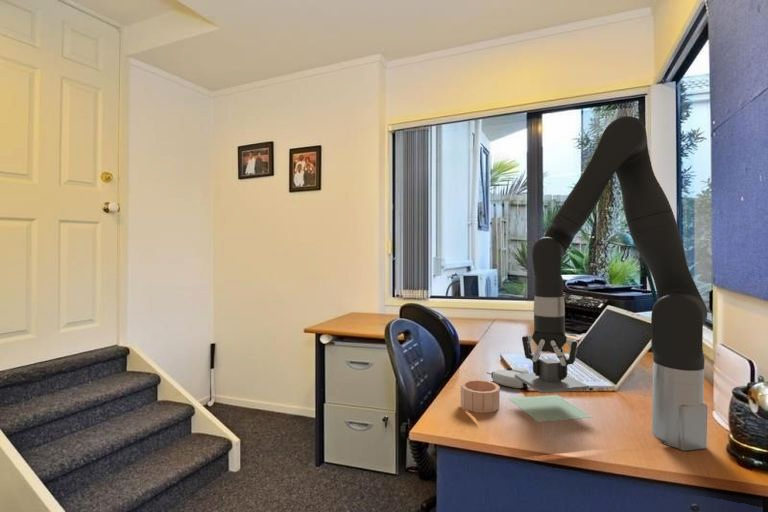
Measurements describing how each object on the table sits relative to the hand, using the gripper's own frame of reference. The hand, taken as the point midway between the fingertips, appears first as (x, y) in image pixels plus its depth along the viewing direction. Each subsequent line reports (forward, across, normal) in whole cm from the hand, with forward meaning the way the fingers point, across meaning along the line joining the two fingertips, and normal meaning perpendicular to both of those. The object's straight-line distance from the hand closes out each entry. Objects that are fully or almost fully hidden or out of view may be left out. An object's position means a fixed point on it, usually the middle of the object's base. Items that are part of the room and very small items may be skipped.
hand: (549, 376), depth 107 cm
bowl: (+9, +16, +8) cm, 20 cm away
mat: (+9, +1, 0) cm, 9 cm away
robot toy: (+9, +14, -15) cm, 23 cm away
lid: (+2, 0, 0) cm, 2 cm away
